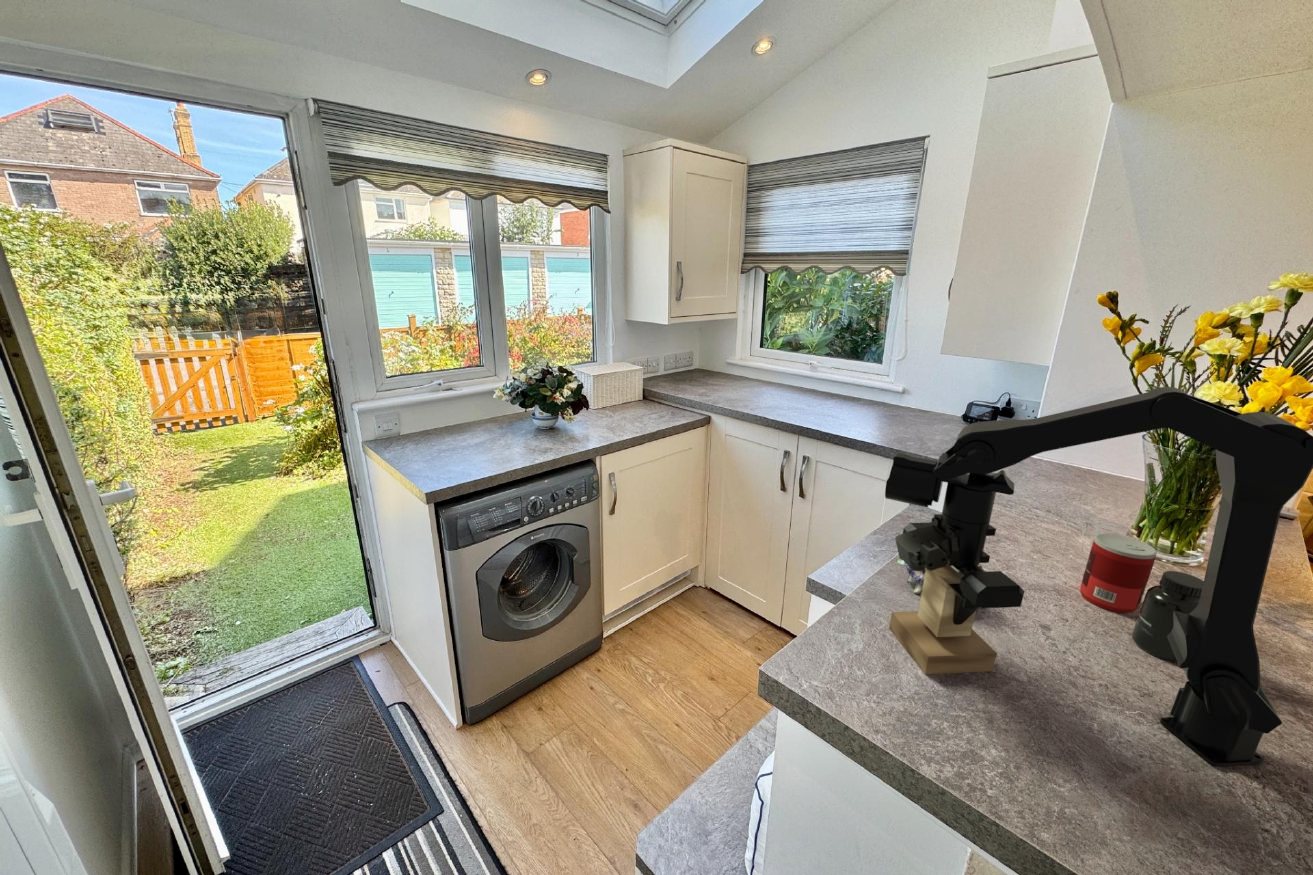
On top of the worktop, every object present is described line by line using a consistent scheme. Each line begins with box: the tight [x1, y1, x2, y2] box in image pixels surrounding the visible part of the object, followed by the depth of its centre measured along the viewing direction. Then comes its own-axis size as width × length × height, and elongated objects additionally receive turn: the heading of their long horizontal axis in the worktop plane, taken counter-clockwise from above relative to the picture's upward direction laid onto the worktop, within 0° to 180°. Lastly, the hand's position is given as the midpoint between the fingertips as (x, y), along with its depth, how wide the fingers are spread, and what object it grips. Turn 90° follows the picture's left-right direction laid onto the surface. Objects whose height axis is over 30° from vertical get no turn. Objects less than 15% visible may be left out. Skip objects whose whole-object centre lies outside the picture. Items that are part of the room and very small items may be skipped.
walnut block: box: [888, 610, 998, 675], centre depth 78 cm, size 10×10×3 cm
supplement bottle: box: [1131, 570, 1204, 663], centre depth 78 cm, size 7×7×12 cm
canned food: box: [1079, 533, 1157, 614], centre depth 89 cm, size 8×8×11 cm
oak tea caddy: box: [917, 565, 977, 637], centre depth 76 cm, size 5×5×9 cm
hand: (945, 612), depth 77 cm, fingers closed on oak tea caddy, 5 cm apart
